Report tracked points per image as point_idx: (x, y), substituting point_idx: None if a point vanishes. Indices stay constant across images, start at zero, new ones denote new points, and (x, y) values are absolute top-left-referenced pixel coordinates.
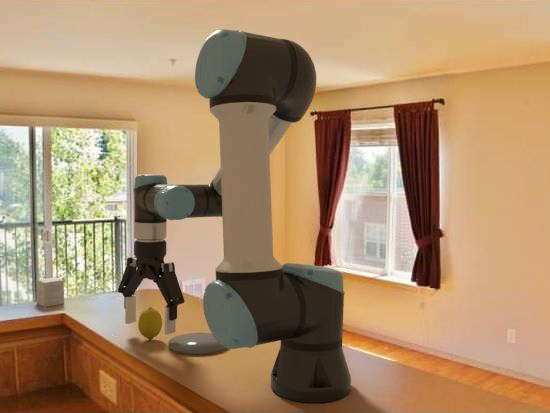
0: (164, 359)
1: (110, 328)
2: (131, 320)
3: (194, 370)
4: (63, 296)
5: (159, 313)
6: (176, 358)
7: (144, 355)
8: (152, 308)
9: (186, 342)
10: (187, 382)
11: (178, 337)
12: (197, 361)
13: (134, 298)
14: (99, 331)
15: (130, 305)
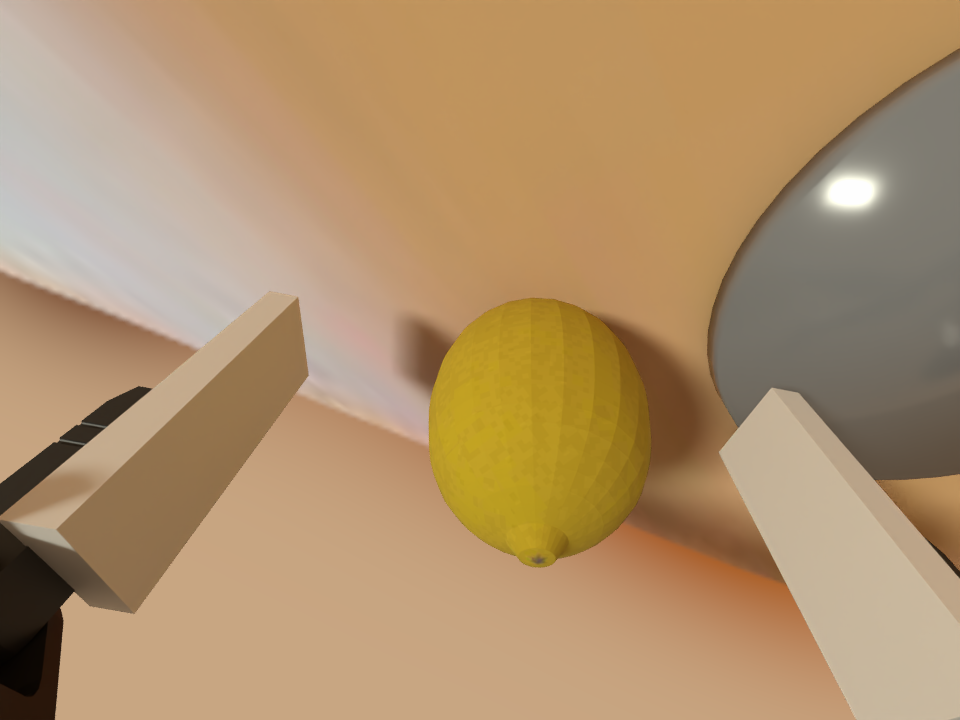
0: None
1: (87, 224)
2: (292, 352)
3: None
4: None
5: (633, 456)
6: None
7: (640, 507)
8: (565, 543)
9: (877, 373)
10: None
11: (777, 298)
12: (956, 505)
13: (111, 514)
14: (126, 312)
15: (202, 478)
